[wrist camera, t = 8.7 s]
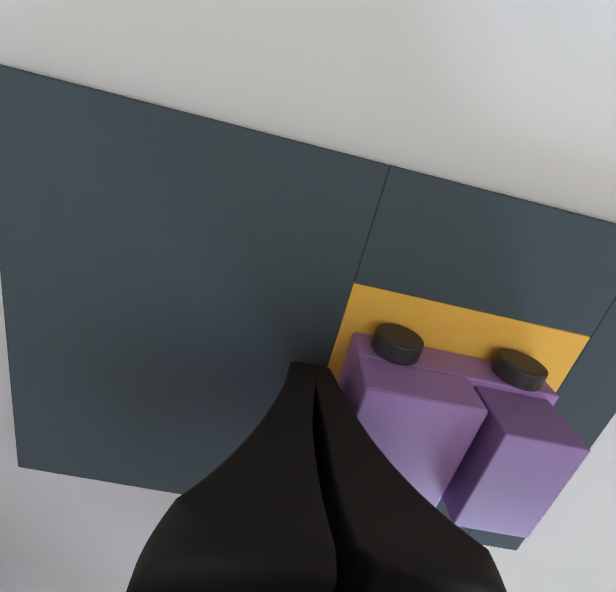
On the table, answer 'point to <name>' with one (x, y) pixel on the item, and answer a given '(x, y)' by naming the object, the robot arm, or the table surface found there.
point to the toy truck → (464, 427)
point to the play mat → (254, 281)
